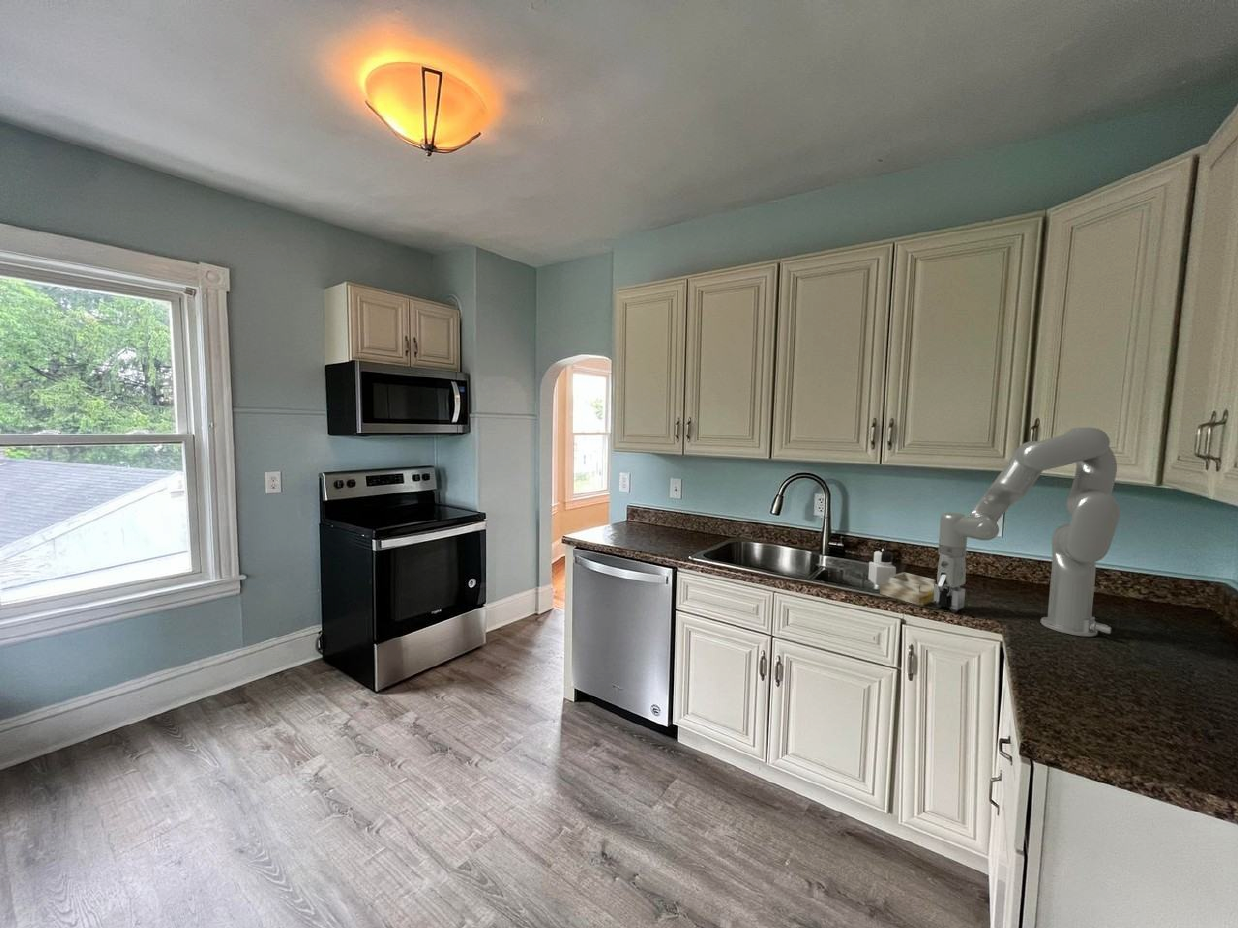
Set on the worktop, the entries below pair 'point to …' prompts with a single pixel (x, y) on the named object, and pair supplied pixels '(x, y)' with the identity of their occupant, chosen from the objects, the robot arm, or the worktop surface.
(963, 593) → the grey block
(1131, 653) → the worktop surface
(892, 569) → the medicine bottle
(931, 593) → the loading dock
